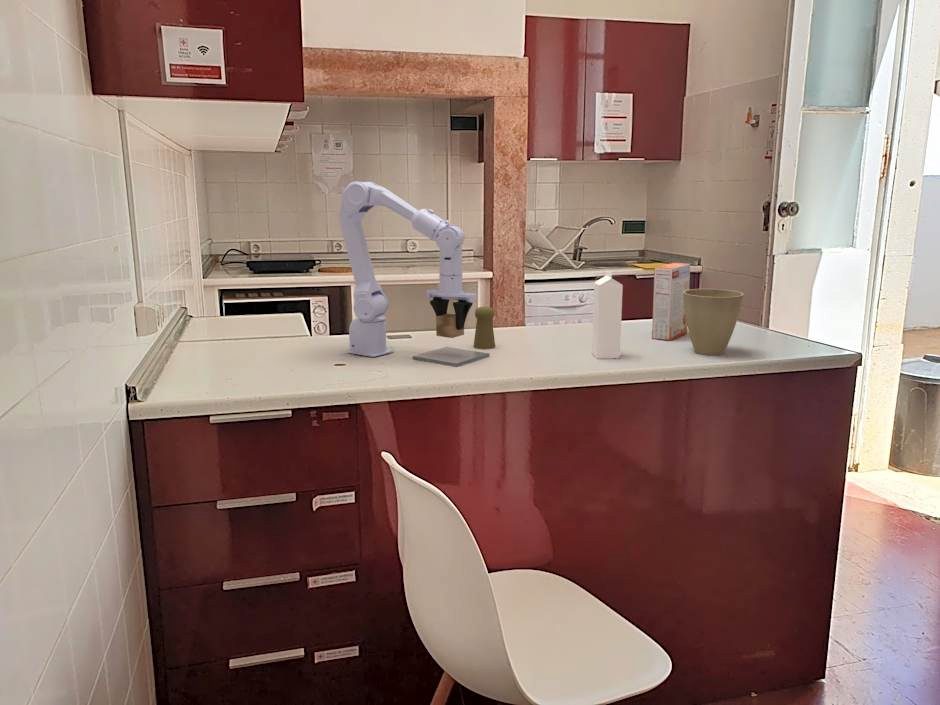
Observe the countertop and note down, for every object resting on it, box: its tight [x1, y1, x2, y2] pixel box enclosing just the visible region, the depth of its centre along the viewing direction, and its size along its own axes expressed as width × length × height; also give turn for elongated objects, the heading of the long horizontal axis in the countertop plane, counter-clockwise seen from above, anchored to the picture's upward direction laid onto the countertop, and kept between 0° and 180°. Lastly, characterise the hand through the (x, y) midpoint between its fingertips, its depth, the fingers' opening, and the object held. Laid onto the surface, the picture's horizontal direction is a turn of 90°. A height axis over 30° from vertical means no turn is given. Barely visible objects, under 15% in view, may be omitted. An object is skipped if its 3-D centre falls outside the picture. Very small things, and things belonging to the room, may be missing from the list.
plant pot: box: [683, 288, 744, 356], centre depth 197 cm, size 15×15×16 cm
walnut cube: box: [435, 312, 465, 339], centre depth 191 cm, size 5×5×5 cm
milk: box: [591, 269, 624, 360], centre depth 192 cm, size 6×6×22 cm
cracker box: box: [651, 262, 691, 341], centre depth 218 cm, size 14×6×21 cm, turn 144°
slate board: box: [412, 346, 490, 368], centre depth 193 cm, size 14×14×1 cm
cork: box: [473, 306, 496, 350], centre depth 205 cm, size 6×6×11 cm
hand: (451, 328), depth 191 cm, fingers closed on walnut cube, 5 cm apart
